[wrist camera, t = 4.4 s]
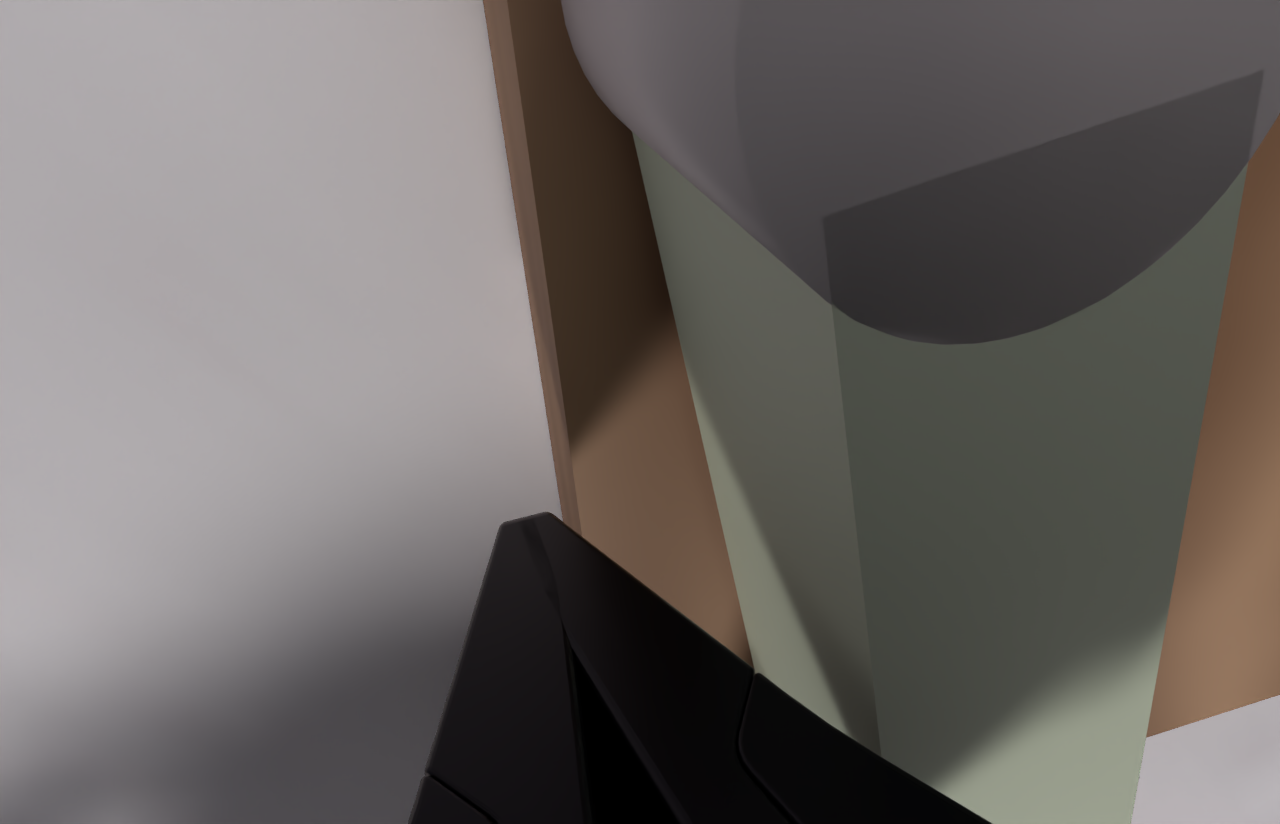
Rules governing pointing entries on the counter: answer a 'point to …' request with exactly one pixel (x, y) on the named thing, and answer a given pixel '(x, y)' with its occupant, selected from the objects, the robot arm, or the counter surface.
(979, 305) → the hinged leg
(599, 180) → the stool seat
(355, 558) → the counter surface
